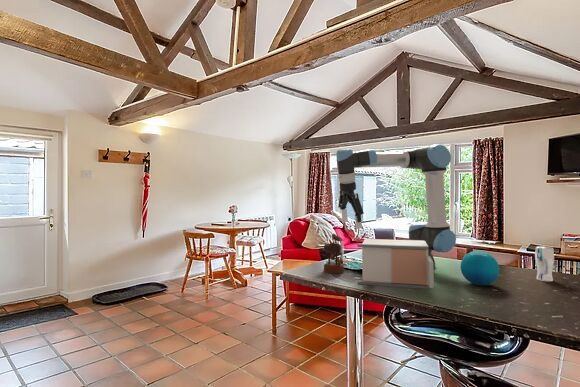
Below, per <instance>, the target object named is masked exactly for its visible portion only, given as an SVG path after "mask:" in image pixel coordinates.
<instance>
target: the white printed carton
mask: <svg viewBox="0 0 580 387" xmlns="http://www.w3.org/2000/svg"><path fill="white" fill-rule="evenodd" d="M534 259H535V260H534V261H535V265H536V270H537V271H536V280H537V281H539V282H540V281H541V282H546V283H548V282H549V283H551V282H553V281H554V279H553V274H552V273H553V268H554V263H555V250H554V247H552V246H542V245H541V246H539V245H538V246H535V251H534Z"/></svg>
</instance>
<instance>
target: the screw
mask: <svg viewBox="0 0 580 387" xmlns="http://www.w3.org/2000/svg"><path fill="white" fill-rule="evenodd" d="M340 242H341V247H342V249H341V253H342V255H339V260H340V257H341V259H342V260H343V262H344V263H346V262H347V259H346V258H345V259H344V241H340Z"/></svg>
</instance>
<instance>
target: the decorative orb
mask: <svg viewBox="0 0 580 387" xmlns="http://www.w3.org/2000/svg"><path fill="white" fill-rule="evenodd" d="M460 271H461V274H462V276H463V277H464V279H465V280H467V282H469V283H471V284H473V285H476V286H479V287H480V286H481V287H482V286H489V285H491V284H493V283H494V282H495V281H497V279H498V278H499V275H500V267H499V263H498V260H497V259H496V258H495V257H494V256H493V255H492V254H490V253H488V252H486V251H483V250H474V251H470V252H469V253H468V252H467V253H466V254H465V255H464V256H463V257H462V260H461V261H460Z"/></svg>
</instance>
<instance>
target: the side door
mask: <svg viewBox="0 0 580 387" xmlns="http://www.w3.org/2000/svg"><path fill="white" fill-rule="evenodd" d="M426 279H427V282H428V285H429V289H431V288H432V289H434V287H435V286H434V284H435V283H434V281H435V280H434V268H433V261H432V259H431V257H430V256H426V250H422V249H394V248H392V283H405V284H420V285H426Z"/></svg>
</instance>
